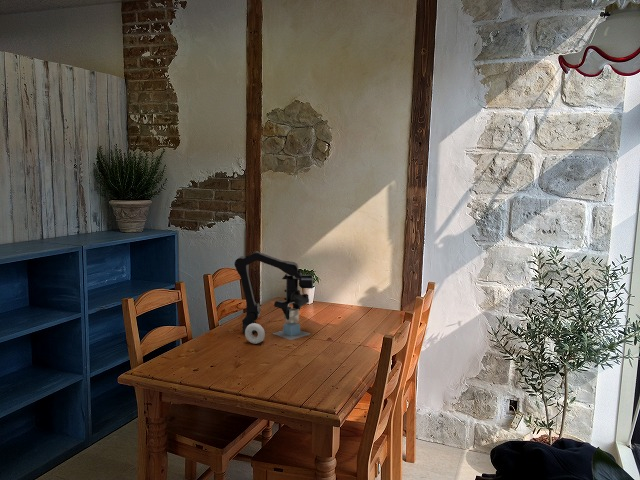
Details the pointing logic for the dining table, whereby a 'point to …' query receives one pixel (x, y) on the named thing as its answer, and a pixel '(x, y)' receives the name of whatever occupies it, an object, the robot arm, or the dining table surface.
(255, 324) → the donut
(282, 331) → the base mat
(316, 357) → the dining table surface
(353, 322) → the dining table surface
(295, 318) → the top brick
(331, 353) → the dining table surface
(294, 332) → the bottom brick
